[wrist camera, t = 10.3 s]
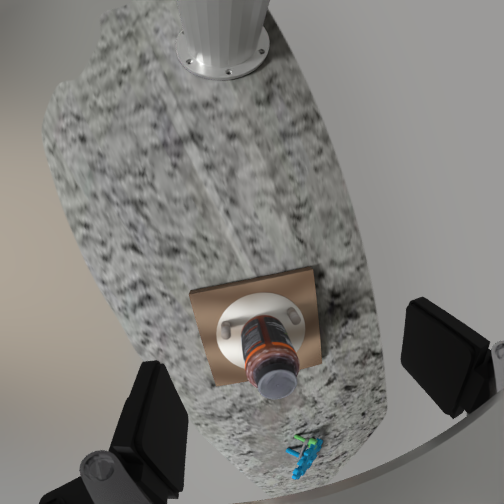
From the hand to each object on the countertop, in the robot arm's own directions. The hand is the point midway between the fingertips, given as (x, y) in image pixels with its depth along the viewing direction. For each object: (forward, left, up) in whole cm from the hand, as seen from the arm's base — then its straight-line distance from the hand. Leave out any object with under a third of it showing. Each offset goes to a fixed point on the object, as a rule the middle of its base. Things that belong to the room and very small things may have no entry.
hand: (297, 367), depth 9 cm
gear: (+42, +4, -26) cm, 49 cm away
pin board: (+12, 0, -26) cm, 29 cm away
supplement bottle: (+12, 0, -25) cm, 27 cm away
